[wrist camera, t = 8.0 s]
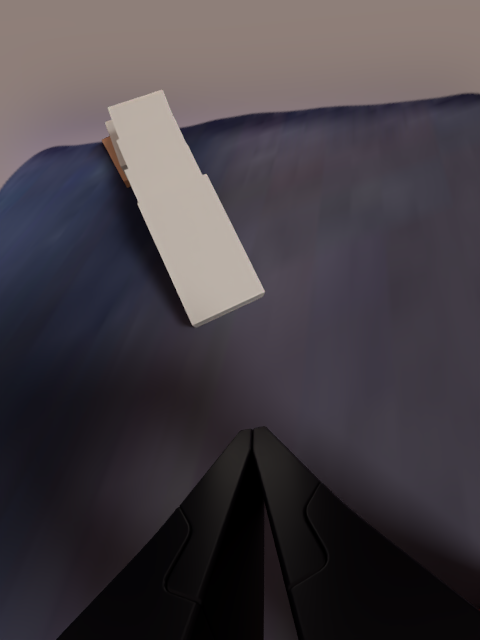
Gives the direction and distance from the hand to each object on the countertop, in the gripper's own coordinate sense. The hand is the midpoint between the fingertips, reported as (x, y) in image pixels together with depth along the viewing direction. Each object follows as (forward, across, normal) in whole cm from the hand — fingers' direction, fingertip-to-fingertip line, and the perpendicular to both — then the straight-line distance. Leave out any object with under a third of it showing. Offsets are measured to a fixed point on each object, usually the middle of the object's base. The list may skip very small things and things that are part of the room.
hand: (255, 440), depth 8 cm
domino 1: (+12, -1, +1) cm, 12 cm away
